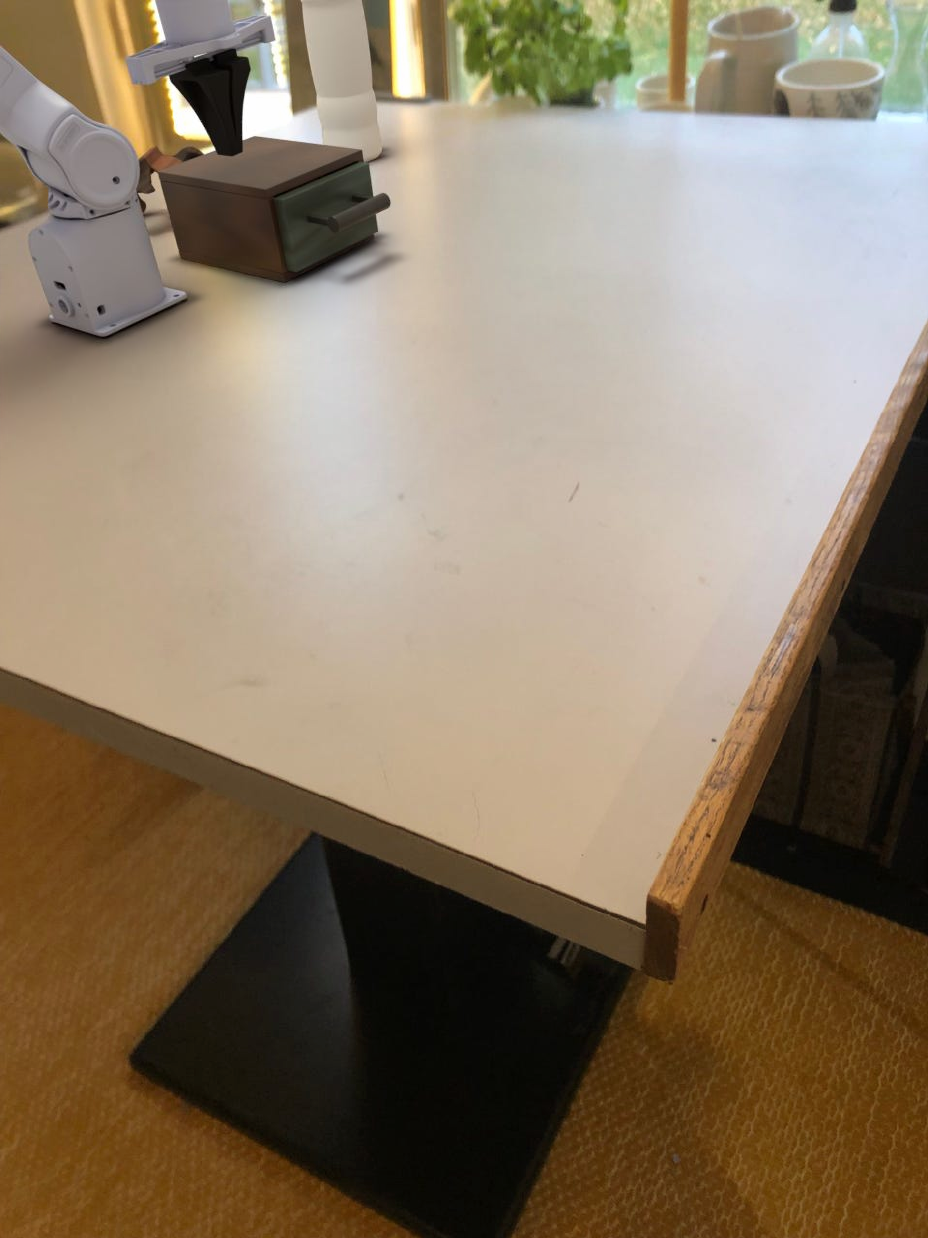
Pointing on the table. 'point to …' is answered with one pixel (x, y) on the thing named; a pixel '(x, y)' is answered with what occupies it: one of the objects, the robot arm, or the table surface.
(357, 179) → the drawer
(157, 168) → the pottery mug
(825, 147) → the table surface
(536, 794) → the table surface
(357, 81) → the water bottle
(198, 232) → the cabinet
